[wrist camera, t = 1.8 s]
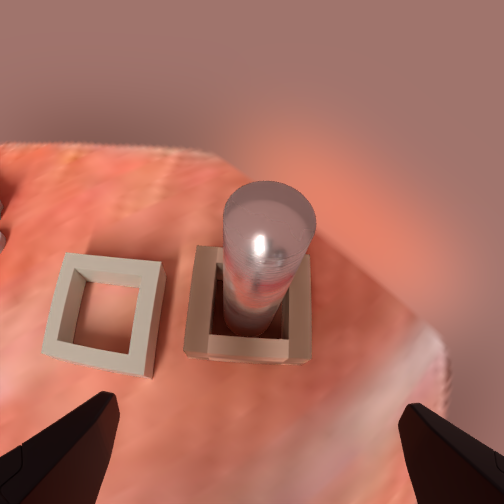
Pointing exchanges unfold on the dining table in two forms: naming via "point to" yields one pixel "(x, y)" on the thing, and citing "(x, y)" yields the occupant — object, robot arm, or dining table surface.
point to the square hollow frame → (69, 300)
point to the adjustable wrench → (2, 242)
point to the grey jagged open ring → (0, 207)
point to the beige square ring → (243, 348)
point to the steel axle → (262, 252)
